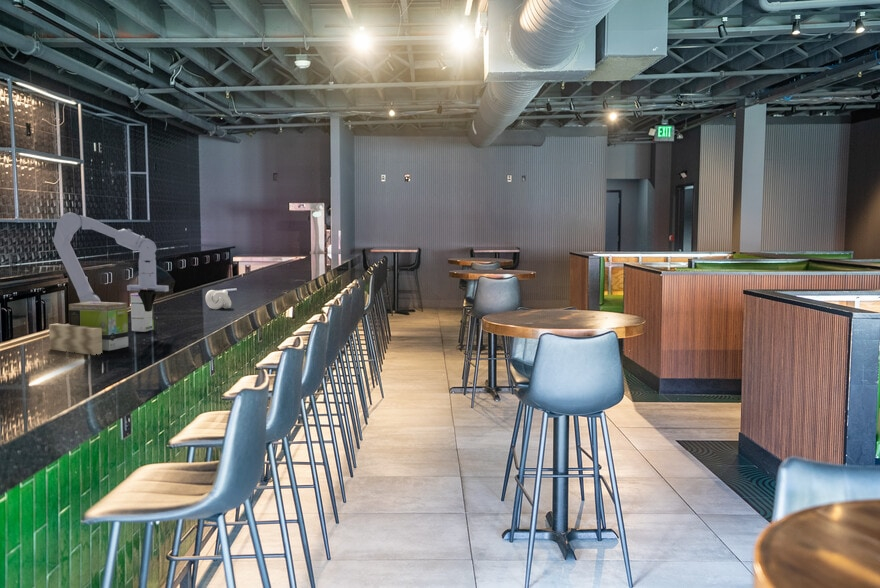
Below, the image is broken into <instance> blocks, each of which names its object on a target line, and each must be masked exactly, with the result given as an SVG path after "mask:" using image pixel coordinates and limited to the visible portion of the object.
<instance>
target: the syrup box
mask: <svg viewBox="0 0 880 588" xmlns="http://www.w3.org/2000/svg"><path fill="white" fill-rule="evenodd" d="M130 315H131V317H130V318H131V319H130V320H131V331H132V332H145V333H146V332H149V331H153V330H154V329H155V326H154V324H155V323H154V322H155V321H154V305H153V306H152V311H149V312H146V311H145V308H144V305H143V302H142V300H141V298H140V297H139V295H138V292H134V293H133V292H132V293H130Z"/></svg>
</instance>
